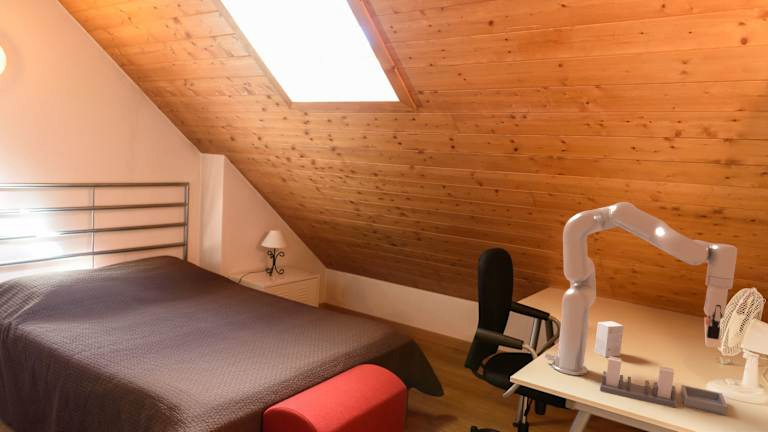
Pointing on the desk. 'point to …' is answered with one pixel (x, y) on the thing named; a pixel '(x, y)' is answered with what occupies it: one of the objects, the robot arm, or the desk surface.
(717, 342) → the marked fuse
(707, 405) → the grey tray
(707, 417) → the desk surface
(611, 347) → the small box
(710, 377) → the desk surface
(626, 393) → the fuse holder
